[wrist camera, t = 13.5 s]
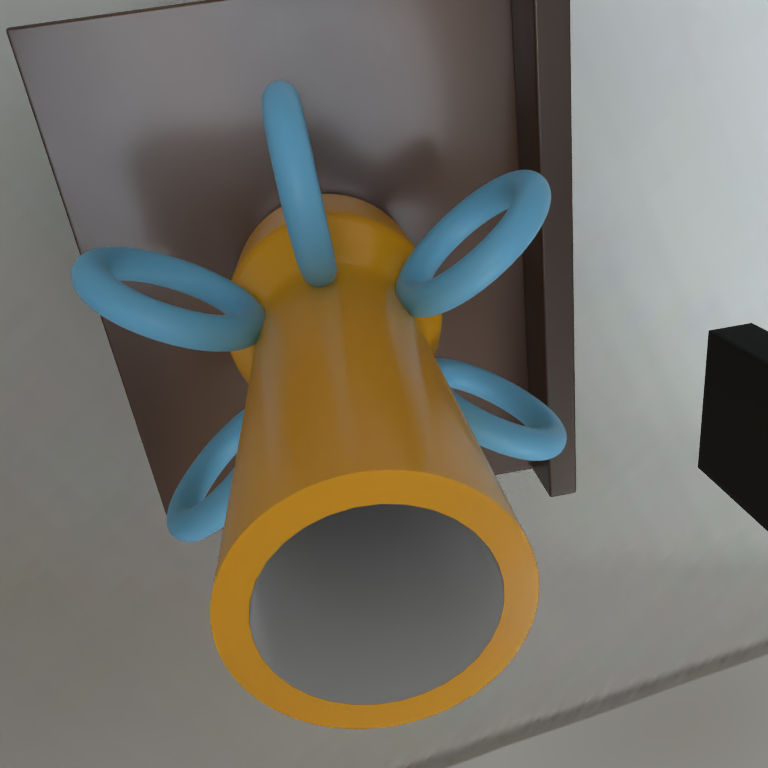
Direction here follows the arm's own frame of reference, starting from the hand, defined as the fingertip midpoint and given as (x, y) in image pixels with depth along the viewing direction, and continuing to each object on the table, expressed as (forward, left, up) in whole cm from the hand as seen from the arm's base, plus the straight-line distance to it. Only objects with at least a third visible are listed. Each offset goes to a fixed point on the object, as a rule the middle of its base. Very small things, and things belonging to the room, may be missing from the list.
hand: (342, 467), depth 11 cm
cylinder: (0, 0, -12) cm, 12 cm away
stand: (0, 0, -23) cm, 23 cm away
